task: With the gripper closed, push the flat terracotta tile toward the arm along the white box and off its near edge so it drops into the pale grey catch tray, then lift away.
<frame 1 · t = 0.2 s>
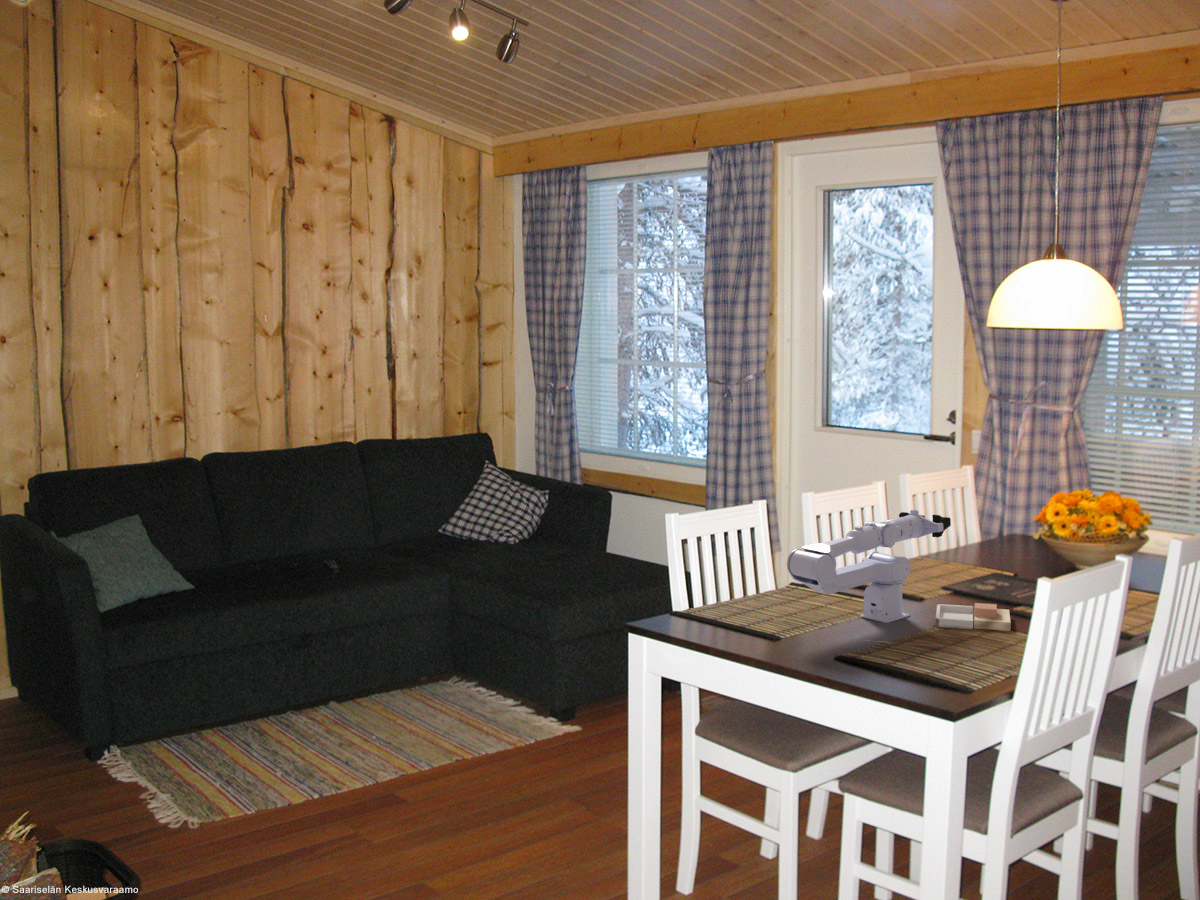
hand: (936, 520, 283), 21 cm above the table, fingers open, 7 cm apart
tray: (954, 620, 269), on the table
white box: (991, 622, 266), on the table
tile: (985, 614, 266), point 2 cm above the table, touching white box
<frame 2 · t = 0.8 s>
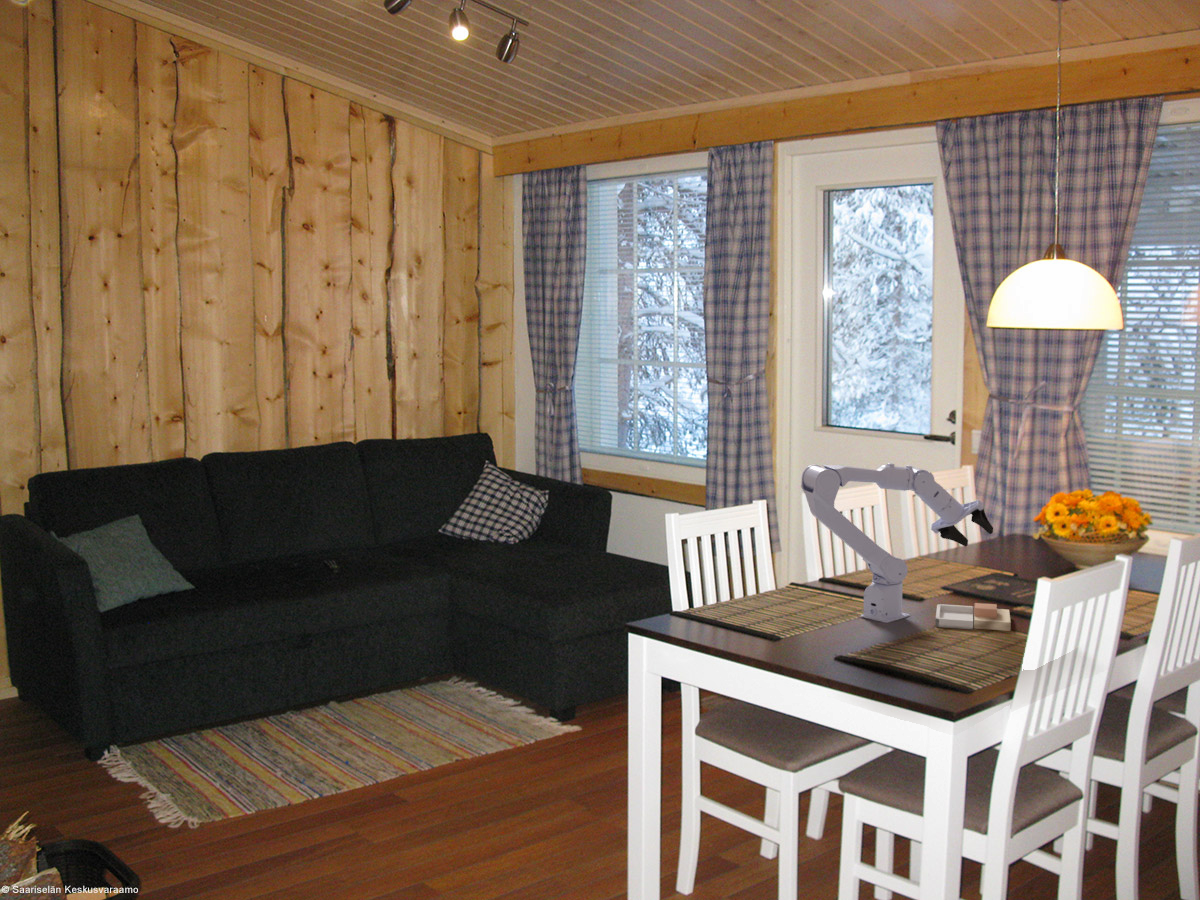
hand: (979, 537, 276), 18 cm above the table, fingers open, 7 cm apart
nothing on the table moved.
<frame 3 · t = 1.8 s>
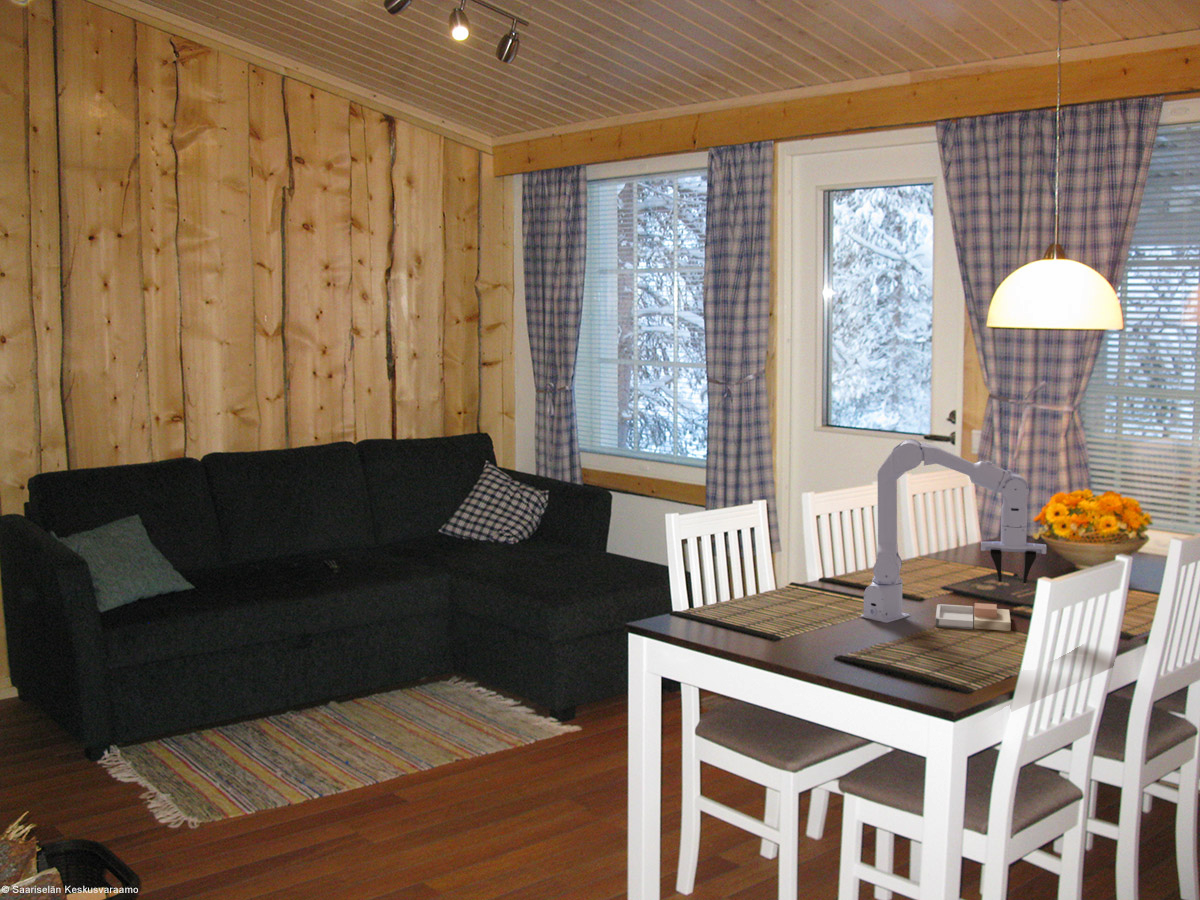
hand: (1012, 581, 264), 10 cm above the table, fingers open, 5 cm apart
nothing on the table moved.
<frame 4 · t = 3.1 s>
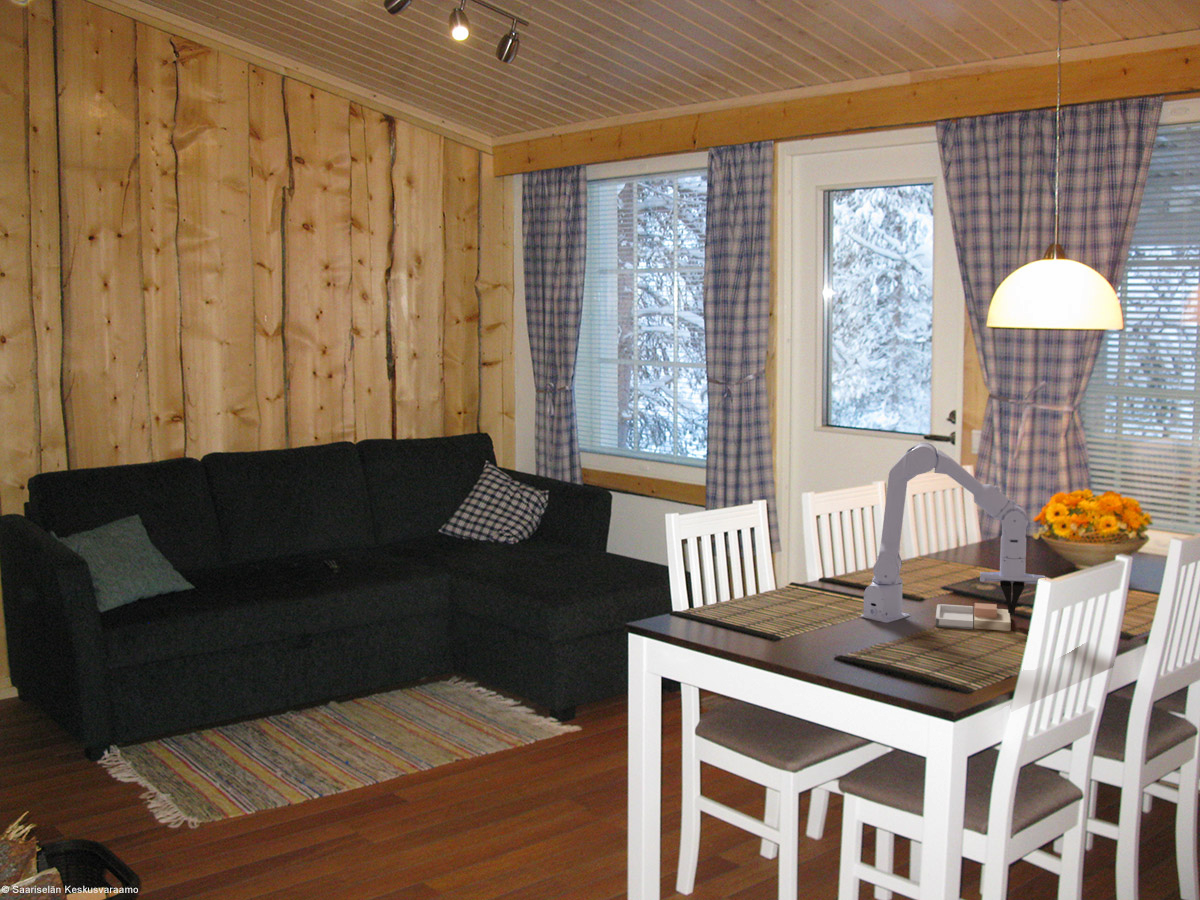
hand: (1011, 612, 264), 3 cm above the table, fingers closed
nothing on the table moved.
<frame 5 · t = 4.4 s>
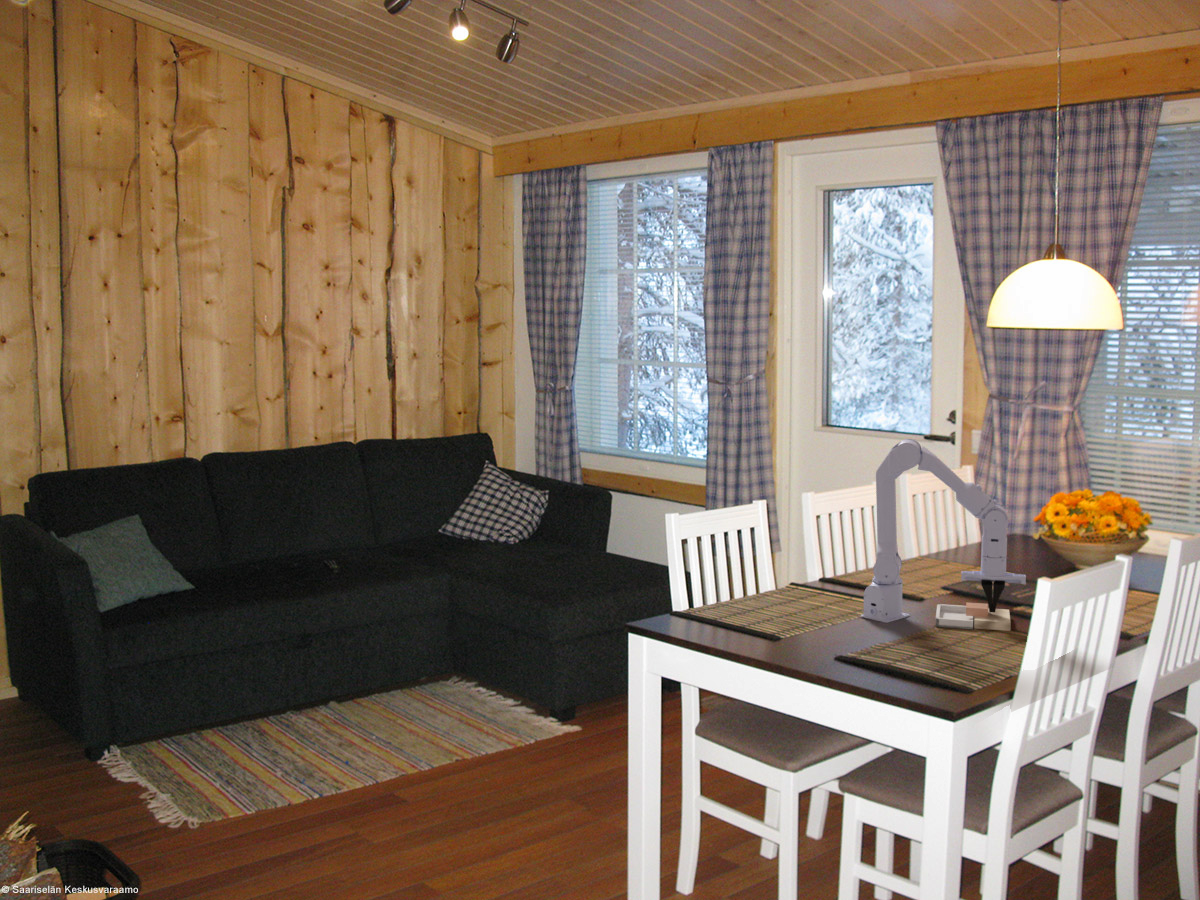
hand: (992, 611, 266), 3 cm above the table, fingers closed
tile: (976, 613, 267), point 2 cm above the table, touching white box, gripper
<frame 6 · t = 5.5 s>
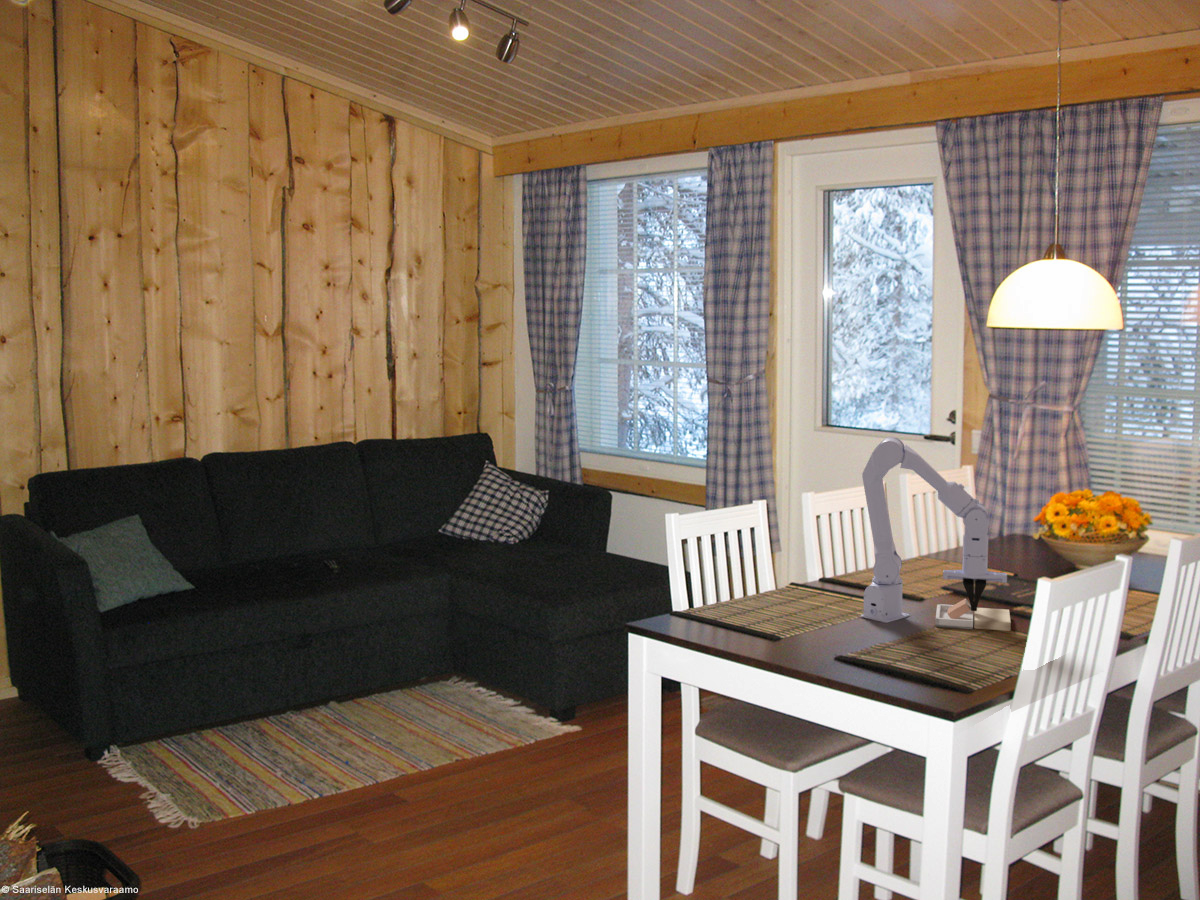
hand: (973, 609, 267), 3 cm above the table, fingers closed
tile: (961, 612, 268), point 2 cm above the table, tilted 35°, touching gripper, tray
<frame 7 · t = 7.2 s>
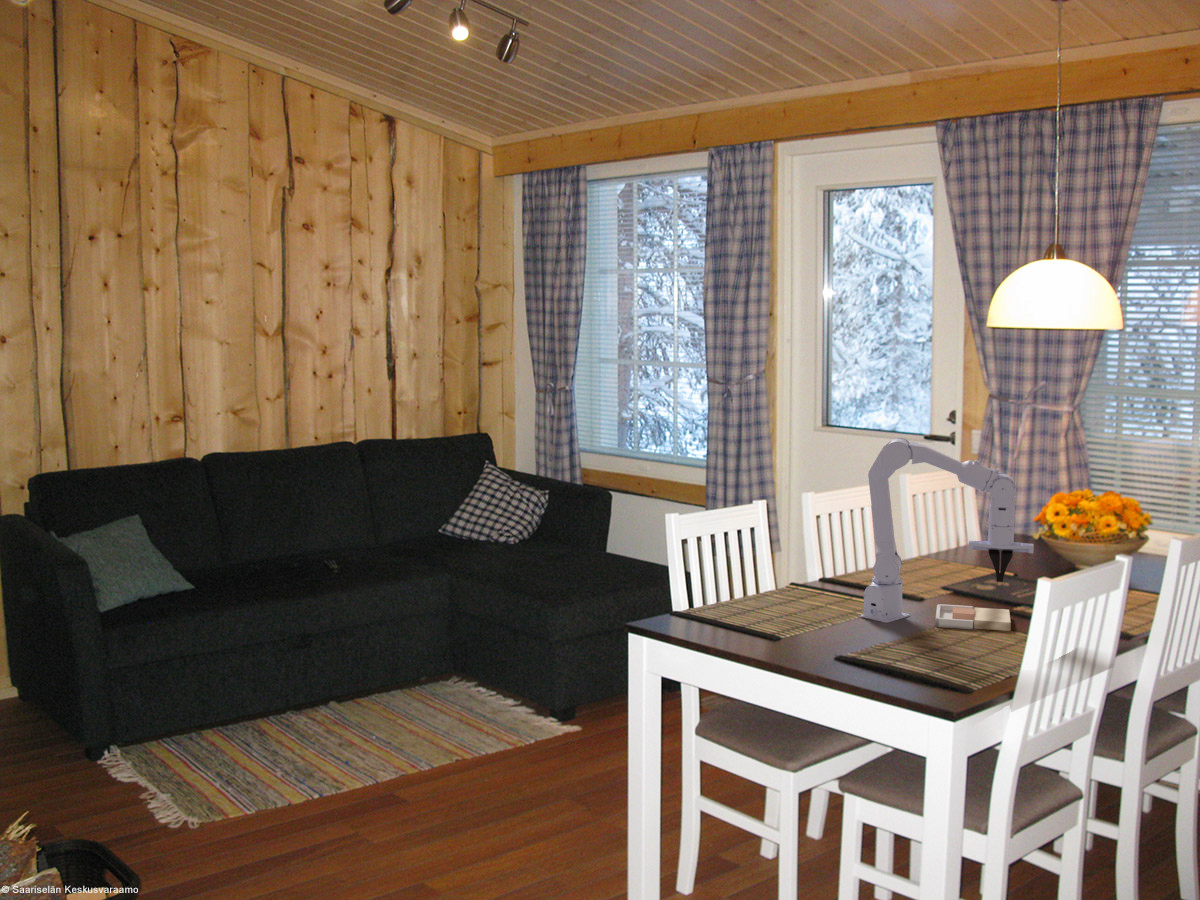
hand: (999, 580, 264), 10 cm above the table, fingers closed
tile: (963, 618, 268), resting on tray
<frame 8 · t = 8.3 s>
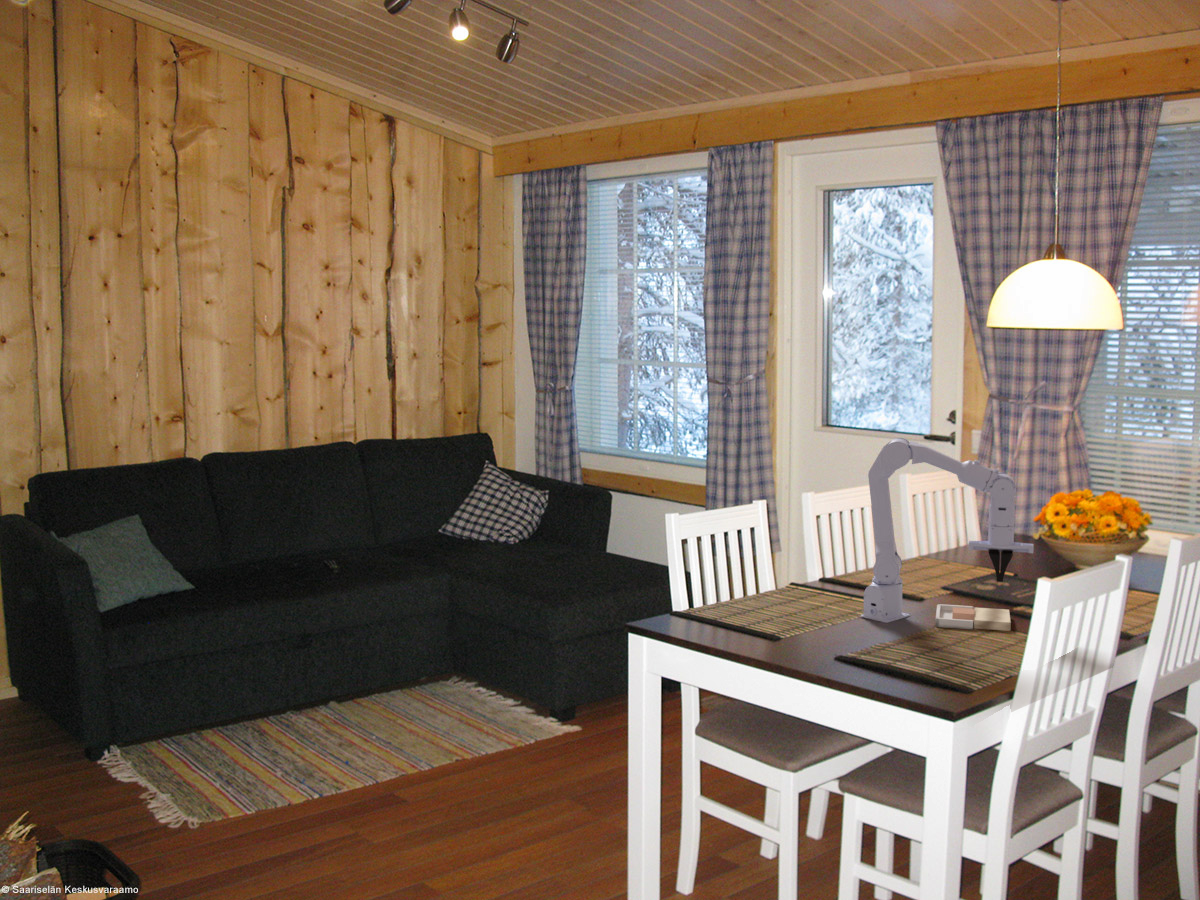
hand: (999, 580, 264), 10 cm above the table, fingers closed
nothing on the table moved.
at the end: tile touching tray; tile 2.0 cm from the tray (horizontally) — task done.
